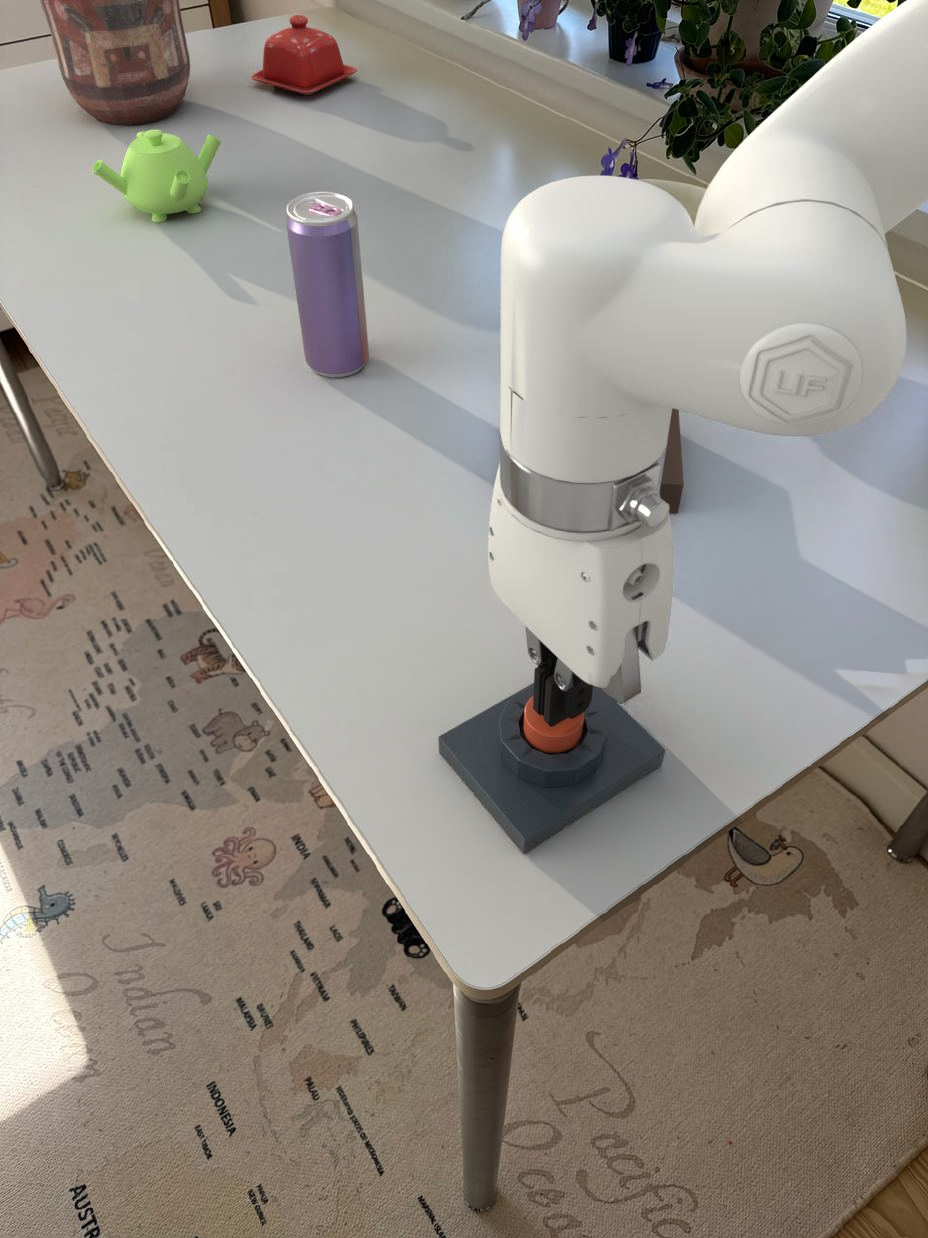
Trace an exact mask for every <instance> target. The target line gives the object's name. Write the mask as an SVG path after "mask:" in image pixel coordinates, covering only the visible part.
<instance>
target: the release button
mask: <svg viewBox="0 0 928 1238" xmlns="http://www.w3.org/2000/svg"><path fill="white" fill-rule="evenodd" d="M583 722H584V713H582V714H581V715H579V716H577V717H576V718H573V719H570V718H569V717H568V718H567V719H565V720H563V721H562V722H560V723H558V724H557V725H555V726H553V727H550V726H549V725H548V724H547V723H546V722H545V721H544V716H543V715H539V714H538V713H537V712H536V711H535V710H534V709H533V697H531V698H530V699H529V701H528V702H527V704H526V706H525V711H524V726H523V730H524V734H525V737H526V739H527V740H528V742H529V743H530V744H531V745H532V746H534V747H535V748H537V749H538V750H540V751H543V752H547V753H562V752H565V751H568V750H570V749H571V748H573V747H574V746H575V745H576V744H577V743H578V742H579V740H580V738H581V735H582V729H583Z"/></svg>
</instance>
